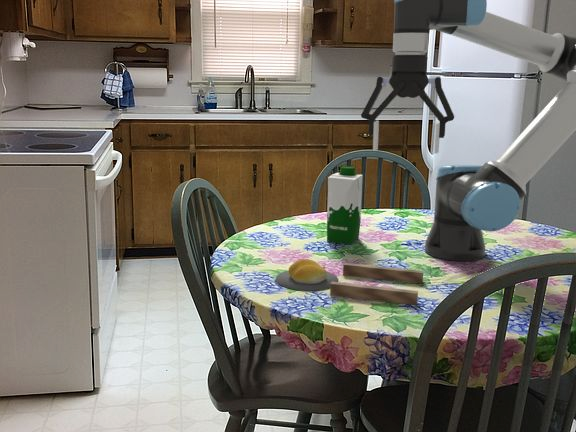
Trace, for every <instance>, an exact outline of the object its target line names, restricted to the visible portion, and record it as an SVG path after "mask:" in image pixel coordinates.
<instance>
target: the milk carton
mask: <svg viewBox="0 0 576 432" xmlns="http://www.w3.org/2000/svg"><path fill="white" fill-rule="evenodd" d="M362 194H363V174H358V173H356V167H355V166H354V165H341V166H340V170H339V172H336V173H333V174H330V176H328V177H327V209H326V210H327V212H326V242H328V243H338V244H343V245H344V244H345V245H352V244H354V243H355V242H356V241H357V240H358V239H359V236H360V230H361V221H362V220H361V219H362V197H363V195H362Z"/></svg>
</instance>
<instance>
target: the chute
mask: <svg viewBox="0 0 576 432" xmlns="http://www.w3.org/2000/svg"><path fill="white" fill-rule="evenodd" d="M342 265H343V266H342V267H343V268H342V275H343V276H350V277H357V278H358V277H360V278H365V279H368V278H369V279H375V280H376V279H378V280H386V281H395V282H402V283H403V282H404V283H414V284H419V285H420V284H423V282H424V281H423V280H424V272H425V271H424V270H417V269H408V268H407V269H406V268H399V267H389V266H380V265H379V266H378V265H369V264H359V263H351V262H350V263H349V262H344V263H343V264H342ZM329 289H330V290H329V295H330V296H334V297H335V296H337V297H344V298H345V297H346V298H354V299H363V300H368V301H369V300H370V301H378V302H385V303H386V302H387V303H393V304H395V303H396V304H404V305H410V304H411V305H412V306H417V305H418V298H419V297H418V296H419V291H418V290H413V289H412V290H410V289H403V288H402V289H401V288H393V287H386V286H385V287H384V286H377V285H375V286H374V285H366V284H358V283H357V284H356V283H350V282H340V281H338V282H333V281H332V282H331V284H330V288H329ZM411 305H410V306H411Z"/></svg>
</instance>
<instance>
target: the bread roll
mask: <svg viewBox="0 0 576 432" xmlns="http://www.w3.org/2000/svg"><path fill="white" fill-rule="evenodd" d="M287 271H288V272H289V275H290V277H291V278H292V279H294V281H295V282H297V283H301V284H317V283H321V282H322V281H324V280H325V279H326V277H327V272H328V271H327V270H326V268H325V267H323V266H321V265H320V264H319V263H318V262H316V261H315V260H312V259H309V258H303V259H299V260H296V261H295V262H293V263H292V264H291V265H289V267H288V270H287Z"/></svg>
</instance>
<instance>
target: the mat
mask: <svg viewBox="0 0 576 432" xmlns="http://www.w3.org/2000/svg"><path fill="white" fill-rule="evenodd" d="M275 281H276V283H277V284H278V285H279V286H281V287H283V288H286V289H290V290H295V291H301V292H302V291H303V292H305V291H306V292H318V291H324V290H329V289H330V284H331V282H332V281H333V282H339V278H338V276H337V275H336V274H333V273H332V272H329V271H327V277H326V279H325V280H324V281H322V282H321V283H317V284H301V283H297V282H295V281H294V279H292V278H291V277H290V275H289V272H288V270H285V271H282V272H280V273H278V274H277V275H276V277H275Z"/></svg>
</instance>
